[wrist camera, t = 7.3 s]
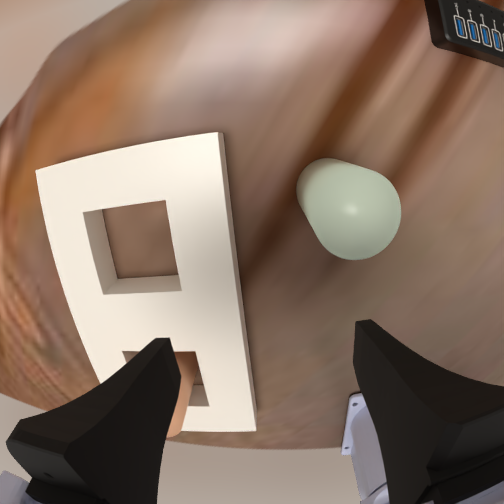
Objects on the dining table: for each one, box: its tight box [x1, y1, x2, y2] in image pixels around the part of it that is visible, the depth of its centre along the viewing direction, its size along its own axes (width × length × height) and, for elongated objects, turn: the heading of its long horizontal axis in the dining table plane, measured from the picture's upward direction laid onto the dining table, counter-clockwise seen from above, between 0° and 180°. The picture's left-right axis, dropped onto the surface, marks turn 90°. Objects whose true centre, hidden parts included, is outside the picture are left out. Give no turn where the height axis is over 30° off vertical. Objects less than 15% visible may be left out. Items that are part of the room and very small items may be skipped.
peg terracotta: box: [167, 351, 199, 437], centre depth 21 cm, size 4×4×6 cm
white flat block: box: [36, 132, 257, 432], centre depth 21 cm, size 22×12×2 cm, turn 6°
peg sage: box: [296, 158, 401, 260], centre depth 16 cm, size 4×4×6 cm
